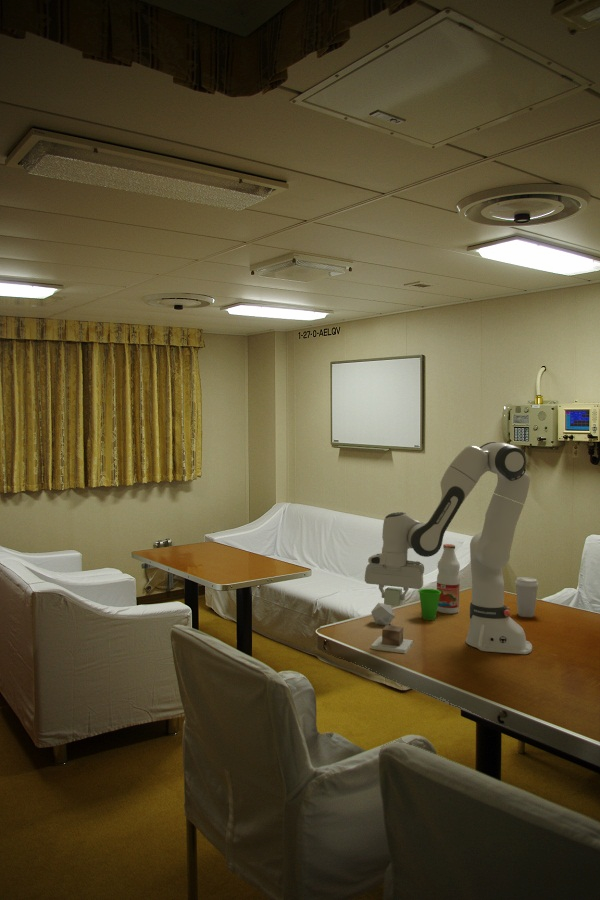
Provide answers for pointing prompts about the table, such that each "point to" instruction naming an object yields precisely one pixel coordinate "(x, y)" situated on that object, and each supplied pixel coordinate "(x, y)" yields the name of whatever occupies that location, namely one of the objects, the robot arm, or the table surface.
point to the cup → (429, 602)
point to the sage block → (393, 596)
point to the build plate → (392, 646)
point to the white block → (383, 614)
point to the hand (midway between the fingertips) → (393, 598)
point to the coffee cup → (526, 596)
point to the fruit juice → (448, 581)
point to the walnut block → (392, 635)
